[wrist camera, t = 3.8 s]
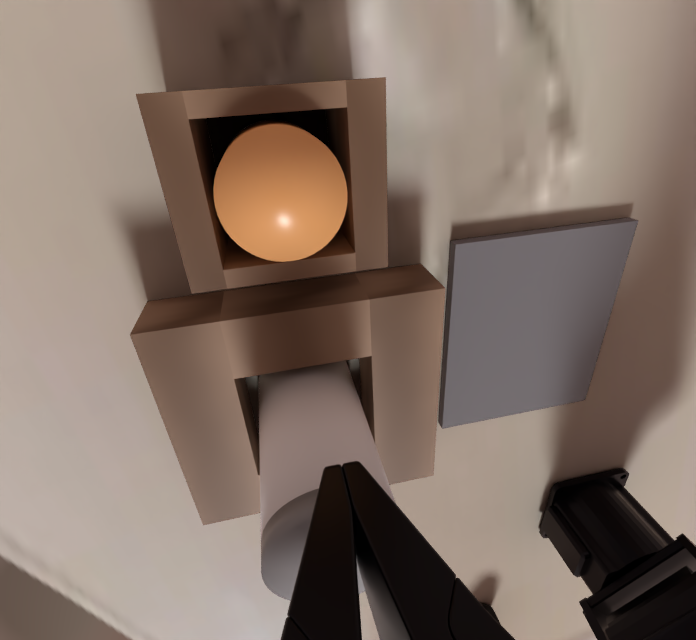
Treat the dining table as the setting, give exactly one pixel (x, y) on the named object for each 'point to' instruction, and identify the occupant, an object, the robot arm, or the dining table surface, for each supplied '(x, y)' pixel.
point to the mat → (528, 317)
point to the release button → (279, 191)
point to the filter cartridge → (305, 458)
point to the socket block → (284, 299)
